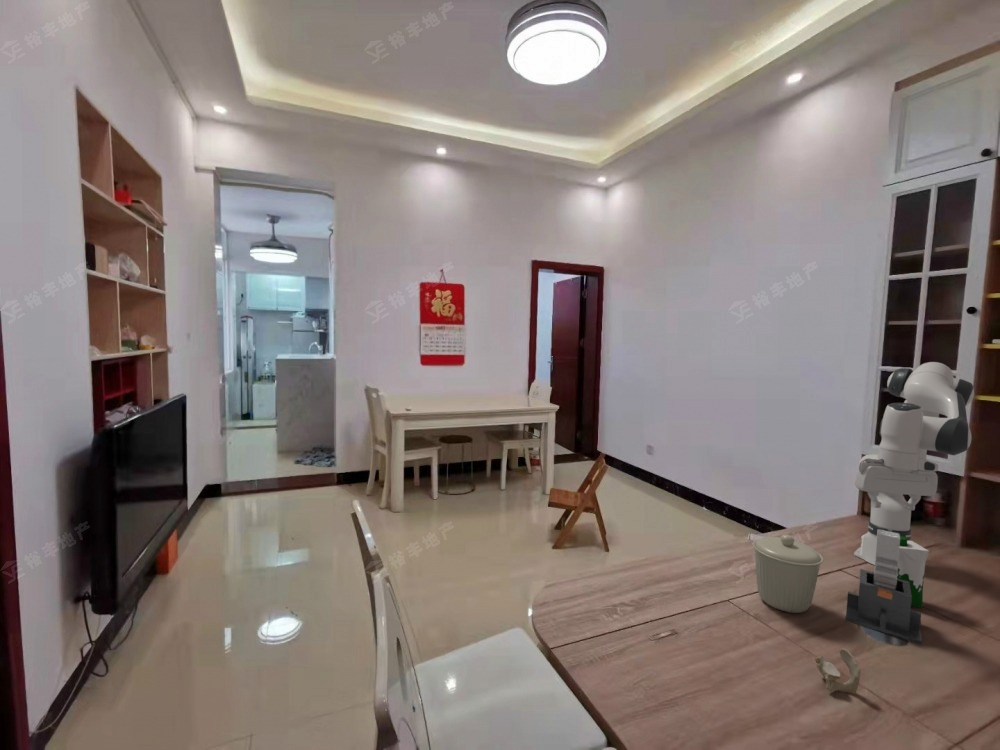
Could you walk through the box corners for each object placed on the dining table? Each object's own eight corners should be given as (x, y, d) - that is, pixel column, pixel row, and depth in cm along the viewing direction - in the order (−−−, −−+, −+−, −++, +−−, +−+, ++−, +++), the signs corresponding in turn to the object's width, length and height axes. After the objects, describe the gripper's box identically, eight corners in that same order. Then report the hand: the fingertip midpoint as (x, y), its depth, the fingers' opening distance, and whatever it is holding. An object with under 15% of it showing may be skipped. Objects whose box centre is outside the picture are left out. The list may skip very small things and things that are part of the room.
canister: (812, 596, 141) (817, 530, 140) (826, 628, 125) (831, 553, 124) (747, 582, 149) (751, 519, 148) (751, 610, 133) (756, 540, 131)
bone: (802, 674, 104) (818, 633, 106) (811, 679, 107) (827, 639, 109) (845, 702, 97) (862, 657, 99) (854, 706, 100) (870, 663, 102)
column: (871, 608, 133) (877, 528, 132) (892, 614, 130) (899, 533, 129) (871, 617, 129) (877, 534, 128) (893, 623, 126) (900, 539, 125)
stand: (847, 597, 141) (850, 563, 141) (917, 618, 131) (920, 581, 131) (845, 620, 129) (848, 582, 128) (921, 644, 119) (925, 604, 118)
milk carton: (876, 591, 146) (881, 530, 145) (908, 594, 144) (913, 533, 143) (894, 605, 138) (899, 541, 136) (928, 610, 136) (934, 545, 135)
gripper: (869, 460, 125) (863, 509, 126) (944, 465, 124) (938, 515, 125) (852, 455, 131) (847, 502, 132) (923, 460, 131) (918, 507, 131)
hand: (892, 508), depth 128 cm, fingers open, 8 cm apart
